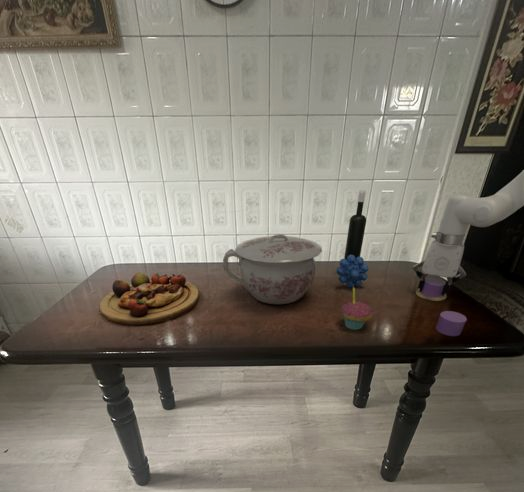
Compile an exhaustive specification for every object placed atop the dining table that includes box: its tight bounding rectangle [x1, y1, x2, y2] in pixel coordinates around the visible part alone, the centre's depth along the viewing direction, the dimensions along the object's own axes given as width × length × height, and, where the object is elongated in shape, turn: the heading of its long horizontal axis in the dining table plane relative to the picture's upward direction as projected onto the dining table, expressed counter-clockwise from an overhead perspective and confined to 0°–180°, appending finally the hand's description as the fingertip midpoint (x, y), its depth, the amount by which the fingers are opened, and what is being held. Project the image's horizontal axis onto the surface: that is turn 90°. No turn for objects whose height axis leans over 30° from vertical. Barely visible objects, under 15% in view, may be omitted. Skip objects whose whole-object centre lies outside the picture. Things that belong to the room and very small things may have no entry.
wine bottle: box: [343, 189, 367, 260], centre depth 111 cm, size 6×6×30 cm
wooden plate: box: [98, 271, 201, 325], centre depth 99 cm, size 32×32×8 cm
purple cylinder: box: [421, 277, 446, 298], centre depth 102 cm, size 6×6×4 cm
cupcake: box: [340, 285, 373, 331], centre depth 84 cm, size 9×8×12 cm
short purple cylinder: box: [435, 310, 468, 337], centre depth 83 cm, size 6×6×4 cm
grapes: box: [335, 255, 369, 289], centre depth 105 cm, size 12×7×12 cm, turn 93°
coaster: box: [415, 288, 448, 302], centre depth 103 cm, size 10×10×1 cm
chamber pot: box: [222, 233, 323, 305], centre depth 98 cm, size 28×28×21 cm
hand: (431, 291), depth 103 cm, fingers closed on purple cylinder, 6 cm apart
